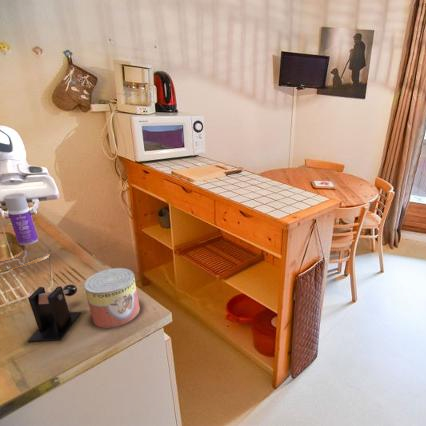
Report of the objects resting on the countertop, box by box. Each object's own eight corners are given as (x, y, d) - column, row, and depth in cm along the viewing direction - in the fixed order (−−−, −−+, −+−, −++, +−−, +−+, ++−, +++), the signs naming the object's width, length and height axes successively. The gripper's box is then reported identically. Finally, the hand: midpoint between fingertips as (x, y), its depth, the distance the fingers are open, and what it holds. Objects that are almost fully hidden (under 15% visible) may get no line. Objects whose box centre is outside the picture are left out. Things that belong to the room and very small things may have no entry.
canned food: (105, 336, 82) (96, 298, 77) (85, 317, 87) (75, 281, 82) (148, 313, 90) (142, 278, 86) (127, 297, 96) (121, 263, 91)
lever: (66, 295, 89) (66, 283, 89) (79, 294, 90) (79, 283, 90) (35, 306, 77) (36, 292, 77) (50, 305, 78) (51, 292, 78)
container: (24, 246, 95) (9, 199, 89) (14, 242, 97) (-1, 196, 91) (42, 240, 99) (29, 195, 94) (32, 236, 101) (18, 192, 95)
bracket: (53, 316, 86) (41, 280, 82) (81, 315, 88) (72, 279, 83) (29, 344, 77) (14, 306, 73) (61, 342, 79) (49, 304, 74)
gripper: (-42, 174, 88) (-34, 218, 85) (52, 167, 101) (62, 205, 98) (-34, 185, 93) (-27, 227, 90) (55, 176, 106) (64, 213, 103)
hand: (20, 215), depth 94 cm, fingers closed on container, 4 cm apart
